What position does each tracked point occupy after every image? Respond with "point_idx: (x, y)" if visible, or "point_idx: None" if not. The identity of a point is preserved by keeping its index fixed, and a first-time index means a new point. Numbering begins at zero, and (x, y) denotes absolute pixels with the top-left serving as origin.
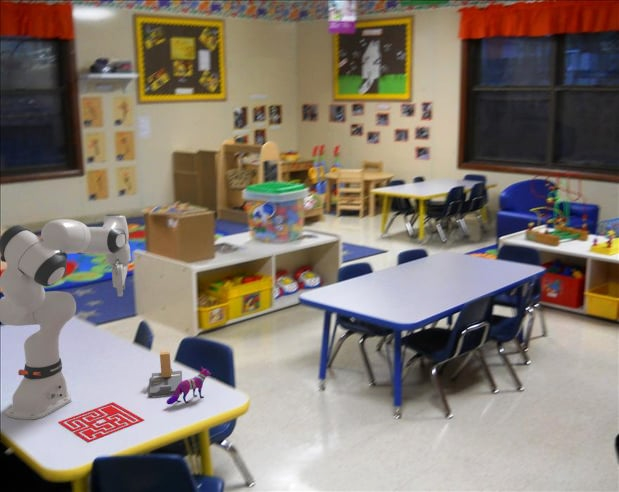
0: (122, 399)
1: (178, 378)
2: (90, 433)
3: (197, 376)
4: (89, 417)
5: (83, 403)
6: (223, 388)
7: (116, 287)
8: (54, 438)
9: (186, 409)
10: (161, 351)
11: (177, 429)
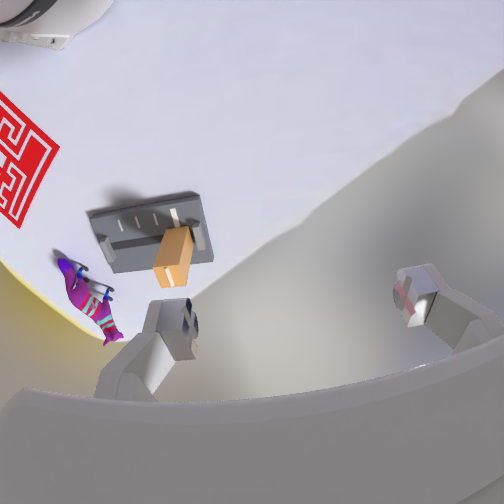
0: (75, 161)
1: None
2: None
3: (99, 323)
4: (4, 131)
5: (53, 82)
6: None
7: (98, 383)
8: None
9: None
10: (177, 268)
11: (17, 275)
